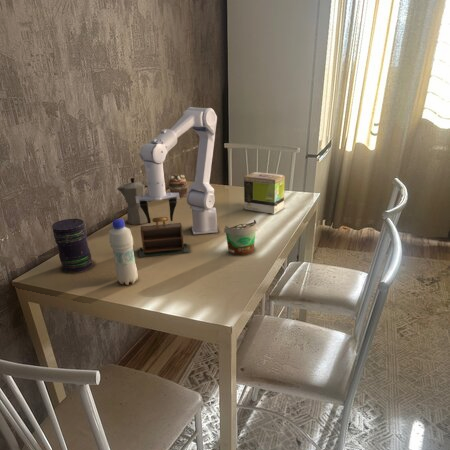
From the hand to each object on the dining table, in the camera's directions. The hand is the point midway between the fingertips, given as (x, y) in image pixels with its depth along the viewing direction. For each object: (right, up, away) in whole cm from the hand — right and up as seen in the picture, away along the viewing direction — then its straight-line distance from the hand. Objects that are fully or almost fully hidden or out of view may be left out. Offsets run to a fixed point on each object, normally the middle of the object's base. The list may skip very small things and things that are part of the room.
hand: (160, 221), depth 143 cm
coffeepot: (-13, +6, +32) cm, 35 cm away
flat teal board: (+1, -10, +3) cm, 11 cm away
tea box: (+40, +13, +40) cm, 58 cm away
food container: (+29, -11, 0) cm, 31 cm away
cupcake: (0, +25, +62) cm, 67 cm away
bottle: (-7, -22, -16) cm, 28 cm away
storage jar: (-27, -16, -5) cm, 32 cm away
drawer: (+1, -9, +3) cm, 10 cm away
